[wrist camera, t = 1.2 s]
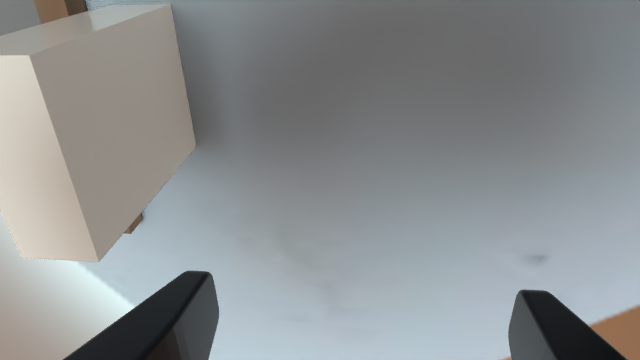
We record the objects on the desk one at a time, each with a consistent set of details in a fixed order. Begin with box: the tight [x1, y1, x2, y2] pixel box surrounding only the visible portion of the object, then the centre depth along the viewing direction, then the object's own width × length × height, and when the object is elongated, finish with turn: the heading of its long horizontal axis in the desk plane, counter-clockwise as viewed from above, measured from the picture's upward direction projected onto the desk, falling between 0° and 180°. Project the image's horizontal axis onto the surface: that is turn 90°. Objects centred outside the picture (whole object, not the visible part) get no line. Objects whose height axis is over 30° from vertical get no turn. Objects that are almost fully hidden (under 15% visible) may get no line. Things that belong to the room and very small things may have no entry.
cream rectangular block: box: [0, 4, 196, 262], centre depth 15 cm, size 3×6×8 cm, turn 2°
